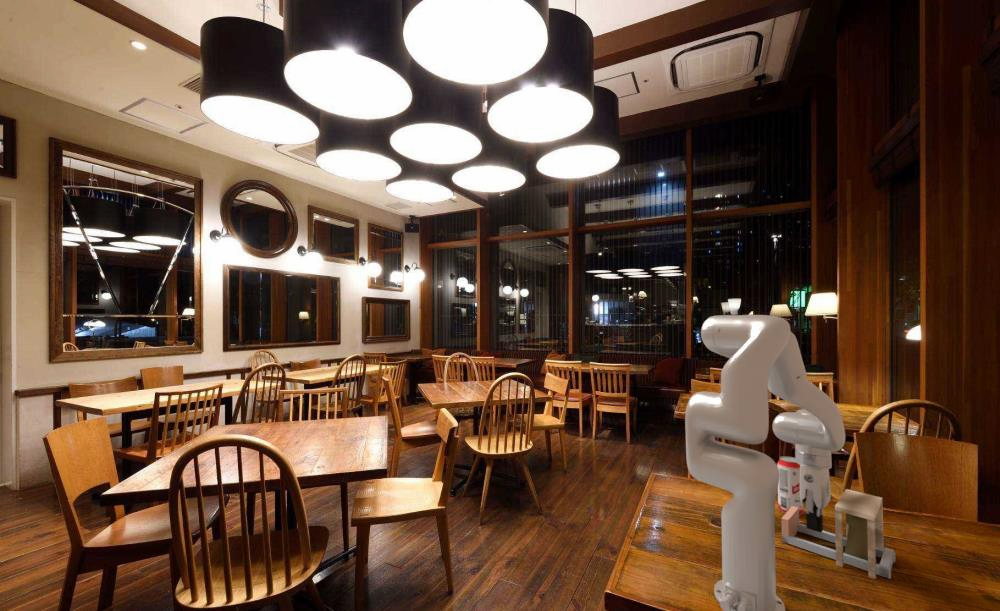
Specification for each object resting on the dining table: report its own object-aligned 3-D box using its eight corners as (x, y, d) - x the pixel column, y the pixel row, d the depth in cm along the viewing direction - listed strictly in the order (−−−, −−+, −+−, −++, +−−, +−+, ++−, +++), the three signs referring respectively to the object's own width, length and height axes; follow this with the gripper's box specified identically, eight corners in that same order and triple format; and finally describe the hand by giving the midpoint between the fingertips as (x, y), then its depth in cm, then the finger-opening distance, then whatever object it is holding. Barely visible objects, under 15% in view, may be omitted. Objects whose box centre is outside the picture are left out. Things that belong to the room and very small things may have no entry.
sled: (895, 560, 100) (894, 535, 100) (890, 578, 93) (889, 551, 93) (792, 527, 115) (792, 505, 115) (781, 541, 108) (781, 518, 108)
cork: (883, 568, 97) (882, 521, 97) (854, 565, 98) (853, 519, 98) (866, 554, 103) (865, 509, 103) (838, 551, 104) (837, 507, 104)
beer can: (773, 510, 126) (772, 457, 127) (786, 506, 129) (785, 454, 129) (795, 519, 120) (794, 464, 121) (808, 514, 123) (807, 460, 123)
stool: (883, 554, 103) (882, 497, 103) (875, 579, 93) (874, 516, 93) (847, 542, 108) (846, 488, 108) (836, 565, 98) (834, 505, 99)
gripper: (824, 469, 100) (826, 546, 100) (837, 455, 110) (838, 524, 110) (788, 461, 106) (789, 534, 105) (803, 448, 116) (804, 514, 115)
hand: (814, 529), depth 107 cm, fingers closed
